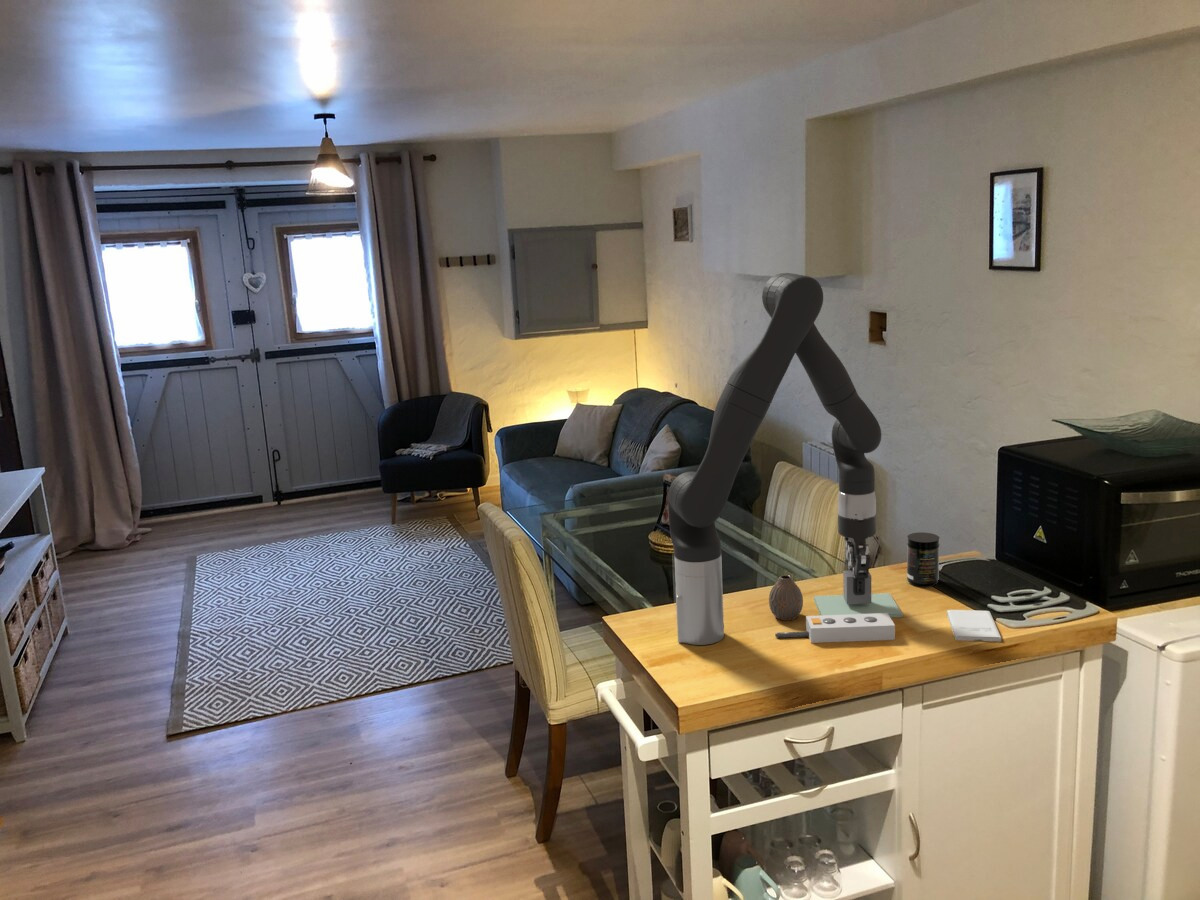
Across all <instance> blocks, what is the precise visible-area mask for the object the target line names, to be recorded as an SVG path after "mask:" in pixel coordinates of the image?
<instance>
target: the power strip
mask: <svg viewBox="0 0 1200 900" xmlns="http://www.w3.org/2000/svg"><path fill="white" fill-rule="evenodd" d="M774 636H775V637H776V638H777V639H781V638H782V639H783V638H802V637H803V638H806V637H808V638H809V641H810V643H811V644H813V643H817V644H818V643H843V642H846V643H847V642H868V641H869V642H870V641H875V642H876V641H894V640H896V625H895V623H894V621H893V620H892V618H890V616H889V614H888V613H873V614H847V615H820V614H819V615H806V616H805V631H786V632H785V631H783V632H775V635H774Z"/></svg>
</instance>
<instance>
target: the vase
mask: <svg viewBox="0 0 1200 900" xmlns="http://www.w3.org/2000/svg"><path fill="white" fill-rule="evenodd" d="M768 605H769V609H770V611H771V613H772V615H773V616H774V617H775V618H776V619H778V620H781V621H792V620H795V619H796V618H797V617H799V615H800V614H801V612H802V610H803V607H804V597H803V593H802V590H801V589H800V587H799V586H798V584H796V582H795V581H794V579H793V576H791V575H789V574H782V575H780V576H779V577H778V579H777V581H776V582H775V583H774V584H773V586H772V587H771V589H770V591H769V596H768Z"/></svg>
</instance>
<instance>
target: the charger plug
mask: <svg viewBox="0 0 1200 900" xmlns="http://www.w3.org/2000/svg"><path fill="white" fill-rule="evenodd" d="M859 572H863V571H859ZM842 573H843V574H842V575H843V576H842V577H843V579H842V580H843V582H842V583H843V590H842V591H843V595H844V599H845V601H846V603H847V604H865V603H871V594H872V575H871V572H869V573H868V578H865V594H864V595H855V594H854V583H853V570H849V569H848V570H843V572H842Z"/></svg>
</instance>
